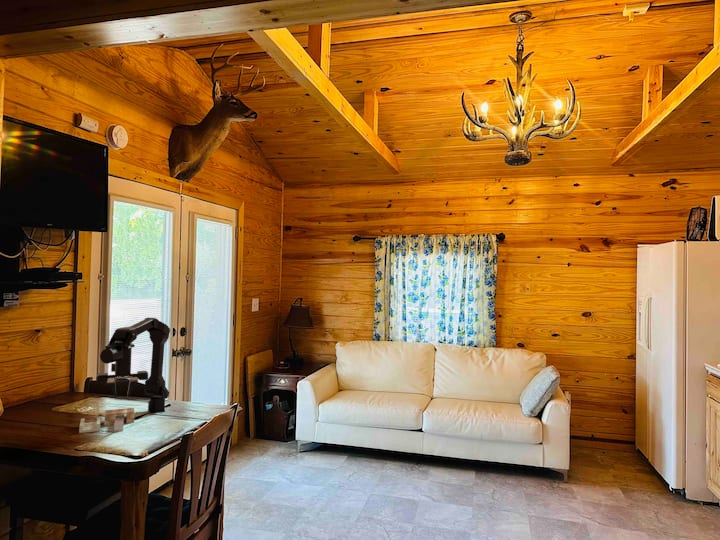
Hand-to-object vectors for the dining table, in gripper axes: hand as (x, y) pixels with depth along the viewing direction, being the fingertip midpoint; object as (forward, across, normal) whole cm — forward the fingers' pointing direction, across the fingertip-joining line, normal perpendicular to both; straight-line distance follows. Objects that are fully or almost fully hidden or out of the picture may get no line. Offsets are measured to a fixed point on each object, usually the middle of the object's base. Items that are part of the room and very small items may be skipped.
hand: (121, 397), depth 193 cm
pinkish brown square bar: (+12, 0, -4) cm, 13 cm away
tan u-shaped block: (+12, 0, -8) cm, 15 cm away
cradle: (+12, +11, -4) cm, 17 cm away
